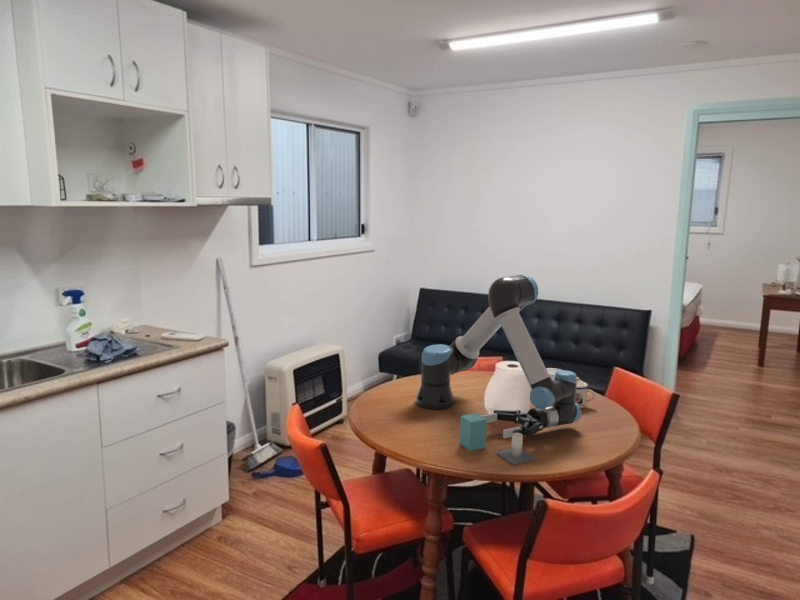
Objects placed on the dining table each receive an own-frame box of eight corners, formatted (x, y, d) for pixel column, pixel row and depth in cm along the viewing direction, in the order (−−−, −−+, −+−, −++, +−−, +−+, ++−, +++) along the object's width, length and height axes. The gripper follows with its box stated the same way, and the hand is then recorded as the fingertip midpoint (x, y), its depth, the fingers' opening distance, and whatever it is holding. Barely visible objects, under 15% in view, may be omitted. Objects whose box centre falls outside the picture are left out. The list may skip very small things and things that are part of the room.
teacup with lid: (561, 406, 230) (563, 378, 228) (565, 399, 238) (567, 373, 236) (592, 411, 225) (594, 383, 223) (595, 404, 233) (597, 377, 231)
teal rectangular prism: (469, 451, 187) (470, 422, 185) (460, 443, 193) (461, 415, 191) (485, 448, 190) (486, 419, 188) (475, 440, 195) (476, 413, 194)
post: (512, 465, 177) (514, 442, 176) (496, 453, 185) (497, 431, 184) (536, 460, 181) (537, 437, 180) (519, 449, 189) (520, 427, 188)
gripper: (565, 440, 191) (513, 451, 182) (520, 415, 213) (471, 424, 204) (566, 419, 190) (514, 429, 181) (521, 396, 212) (472, 404, 203)
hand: (491, 426), depth 193 cm, fingers open, 13 cm apart
